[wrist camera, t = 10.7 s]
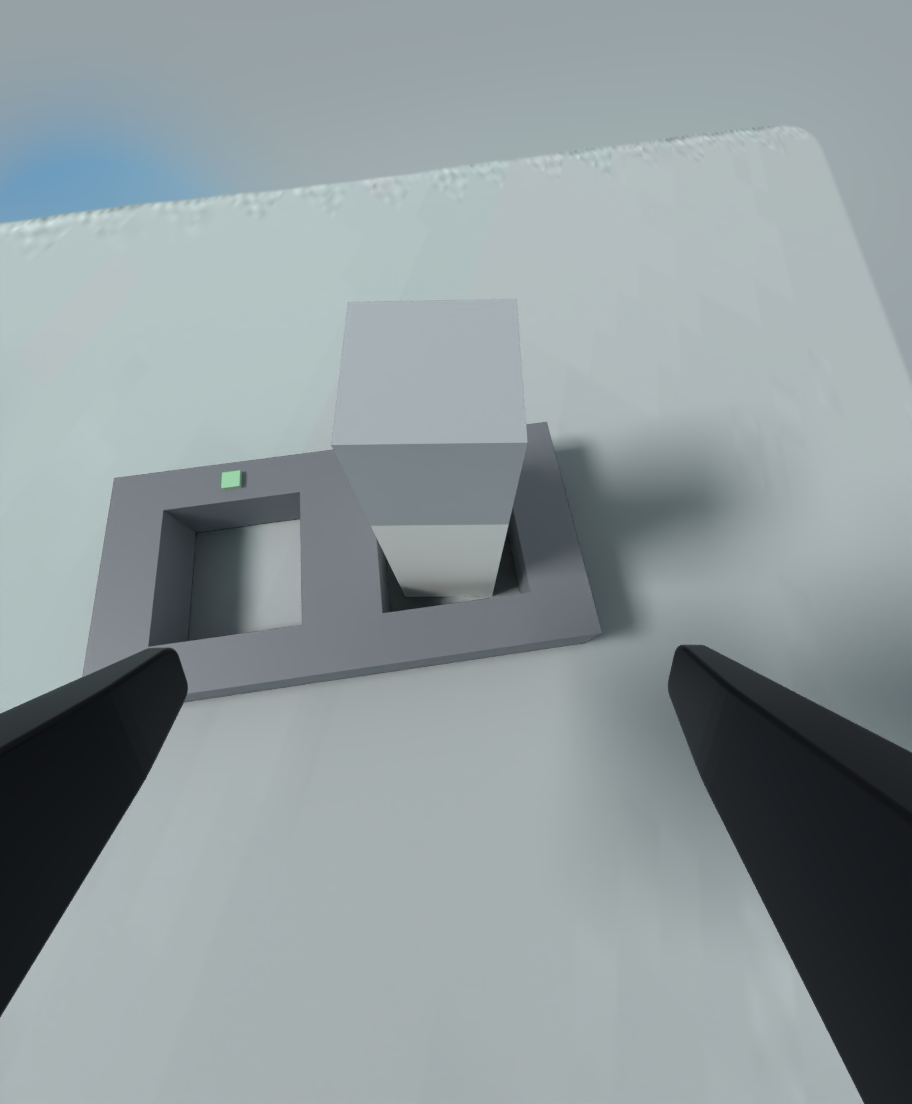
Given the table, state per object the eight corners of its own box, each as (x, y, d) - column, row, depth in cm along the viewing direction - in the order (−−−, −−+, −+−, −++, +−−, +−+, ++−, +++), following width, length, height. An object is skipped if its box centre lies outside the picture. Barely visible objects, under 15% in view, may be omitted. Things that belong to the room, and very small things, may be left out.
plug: (491, 596, 20) (527, 442, 9) (405, 596, 20) (331, 445, 9) (488, 503, 22) (515, 275, 10) (409, 504, 22) (350, 277, 11)
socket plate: (585, 642, 19) (603, 631, 17) (126, 710, 18) (72, 709, 16) (538, 452, 23) (547, 419, 20) (151, 503, 22) (110, 475, 19)
